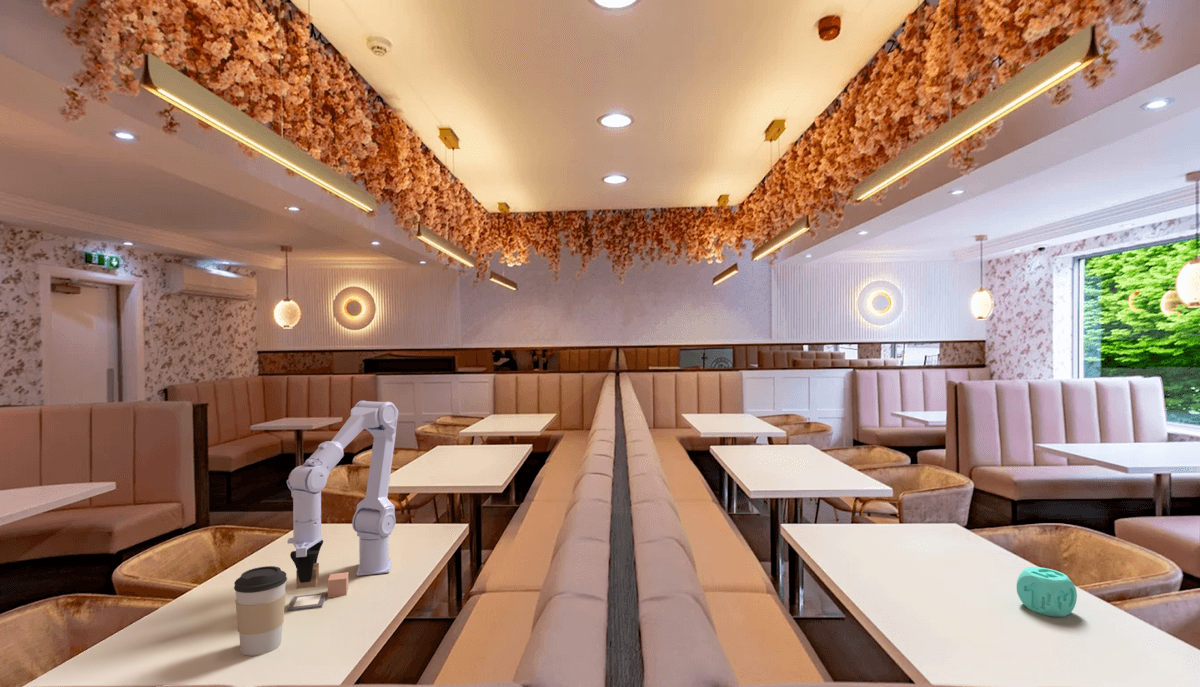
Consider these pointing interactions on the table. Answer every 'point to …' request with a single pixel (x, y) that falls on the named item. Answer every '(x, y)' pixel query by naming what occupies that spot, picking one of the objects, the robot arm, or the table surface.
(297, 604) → the mat
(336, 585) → the terracotta block
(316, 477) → the robot arm
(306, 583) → the walnut block
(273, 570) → the coffee cup
